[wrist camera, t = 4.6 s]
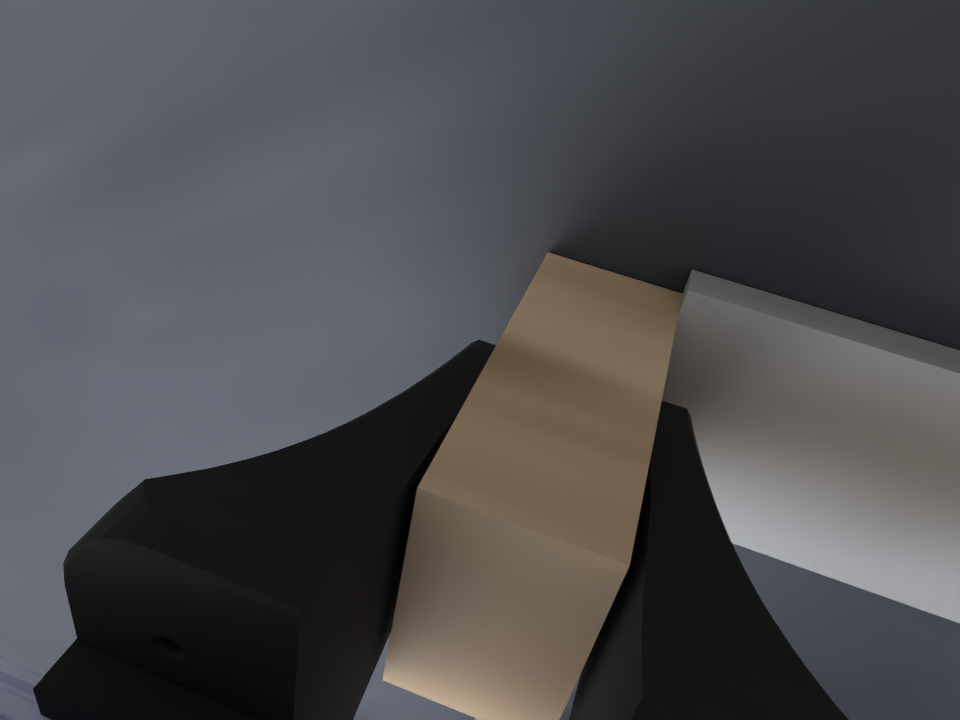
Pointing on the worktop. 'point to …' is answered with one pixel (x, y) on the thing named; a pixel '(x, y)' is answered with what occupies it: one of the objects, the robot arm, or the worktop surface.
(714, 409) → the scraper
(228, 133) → the worktop surface
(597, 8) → the worktop surface
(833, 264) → the worktop surface
